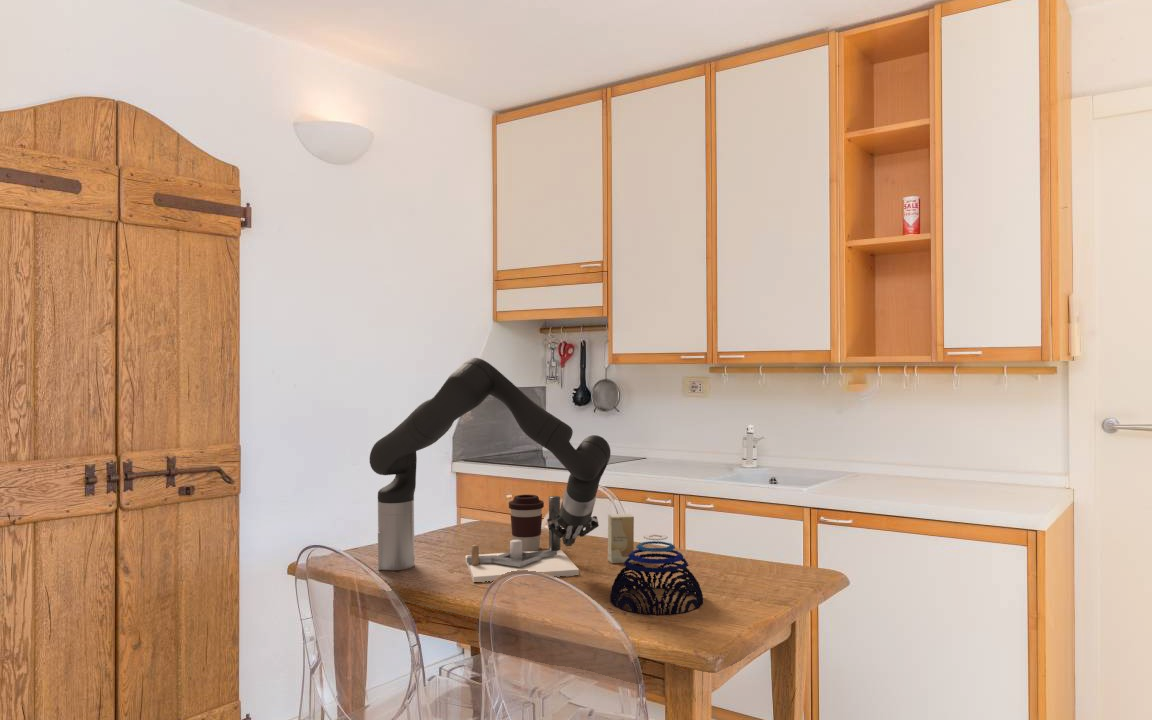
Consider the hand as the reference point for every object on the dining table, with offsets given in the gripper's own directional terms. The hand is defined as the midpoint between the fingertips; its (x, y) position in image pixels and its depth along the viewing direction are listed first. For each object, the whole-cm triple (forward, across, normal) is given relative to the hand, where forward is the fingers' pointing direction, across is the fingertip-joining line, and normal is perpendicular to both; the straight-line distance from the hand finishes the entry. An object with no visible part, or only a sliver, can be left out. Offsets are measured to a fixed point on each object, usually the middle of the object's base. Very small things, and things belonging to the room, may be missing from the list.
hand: (567, 543), depth 199 cm
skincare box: (+13, +16, +1) cm, 21 cm away
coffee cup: (+27, -6, +15) cm, 32 cm away
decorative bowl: (-12, +14, -24) cm, 31 cm away
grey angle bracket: (+14, -12, +5) cm, 19 cm away
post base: (+13, -12, +1) cm, 17 cm away
